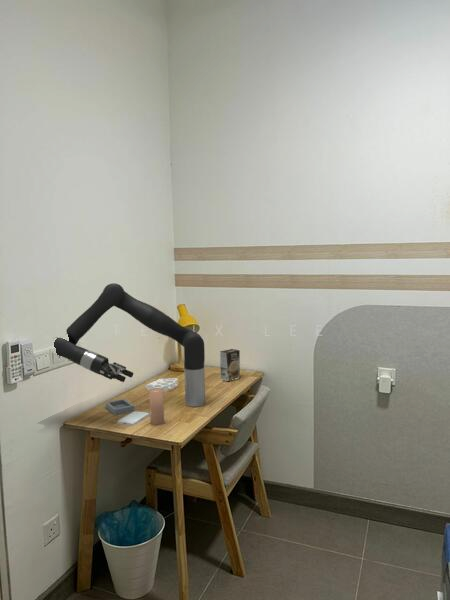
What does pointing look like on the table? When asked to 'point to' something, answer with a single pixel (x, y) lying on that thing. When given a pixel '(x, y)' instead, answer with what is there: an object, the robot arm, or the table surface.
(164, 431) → the table surface
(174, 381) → the white brass knuckles
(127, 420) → the hard drive
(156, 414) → the pink rounded cylinder
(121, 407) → the slate dish
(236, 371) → the coffee box
